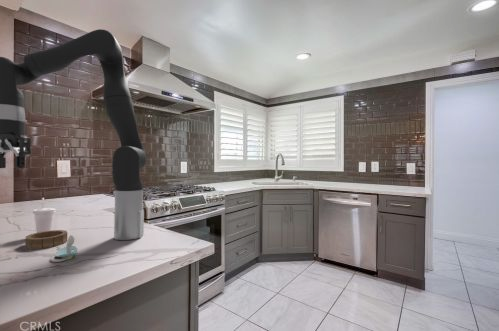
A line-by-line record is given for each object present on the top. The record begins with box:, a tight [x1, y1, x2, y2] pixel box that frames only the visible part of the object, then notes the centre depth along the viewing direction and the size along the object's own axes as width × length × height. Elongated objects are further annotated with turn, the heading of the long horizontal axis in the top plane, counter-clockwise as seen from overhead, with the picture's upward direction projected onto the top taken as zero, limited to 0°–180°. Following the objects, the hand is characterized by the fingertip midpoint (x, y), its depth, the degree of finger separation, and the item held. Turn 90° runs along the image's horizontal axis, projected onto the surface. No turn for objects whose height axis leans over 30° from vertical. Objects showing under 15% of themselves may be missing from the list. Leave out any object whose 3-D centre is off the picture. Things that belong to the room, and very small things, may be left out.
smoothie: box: [32, 197, 57, 233], centre depth 87 cm, size 6×6×14 cm
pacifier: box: [50, 235, 78, 263], centre depth 66 cm, size 7×6×6 cm
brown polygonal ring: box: [24, 229, 68, 250], centre depth 78 cm, size 10×10×3 cm
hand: (10, 168), depth 80 cm, fingers open, 8 cm apart
